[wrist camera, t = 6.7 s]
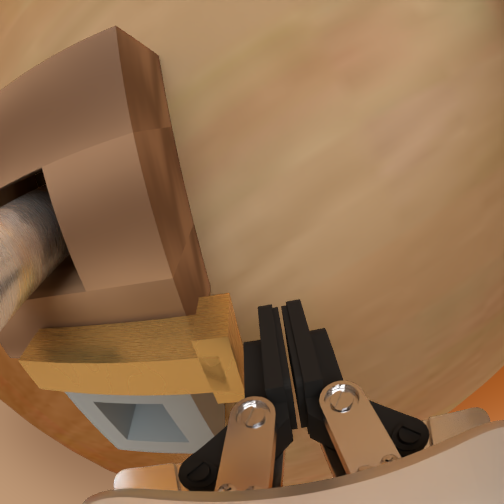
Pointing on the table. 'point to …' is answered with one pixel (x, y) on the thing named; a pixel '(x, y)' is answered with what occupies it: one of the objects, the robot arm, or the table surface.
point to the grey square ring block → (154, 420)
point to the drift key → (145, 355)
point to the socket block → (101, 188)
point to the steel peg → (27, 248)
